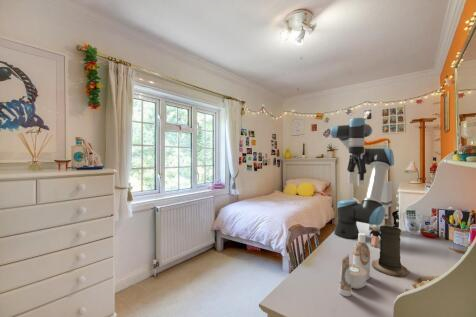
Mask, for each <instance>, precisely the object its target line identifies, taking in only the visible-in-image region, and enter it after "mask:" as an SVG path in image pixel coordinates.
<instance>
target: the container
mask: <svg viewBox="0 0 476 317" xmlns="http://www.w3.org/2000/svg"><path fill="white" fill-rule="evenodd" d="M380 231H381V235H380V236H379V238H380V239H379V240H380V241H379V249H380V250H379V257H378V260H379V262H378V263H379V265H380V266H381V267H383V268H385V269H388V270H393V271H399V270H401V269H402V267H401V265H402V262H401V232H402V229H401V228H399V227H397V226H392V225H385V226H380Z"/></svg>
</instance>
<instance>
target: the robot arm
mask: <svg viewBox="0 0 476 317" xmlns="http://www.w3.org/2000/svg"><path fill="white" fill-rule="evenodd" d="M329 133H330V136H331V138H333V139H339V141H340V142H341V143H342V144H343V146H344V147H345V148H346V149H347V150H348V154H350V155H349V159H348V164H347V169H346V170H347V171H348V184H355V169H356V167H357V187H365V174H366V173H367V168H366V165H368V166H369V167H370V168H371V170H370V173H369V180H368V183H367V189H366V192H365V193H366V194H365V198H364V199H362V200H361V203H359V202H358V201H357V200H356V199H342V200H339V201H338V202H337V210H336V211H337V213H336V214H337V216H336V217H337V218H336V219H337V220H336V225H335V227H334V229H333V230H334V231H333V232H334V235H335V236H338V237H339V238H344V239H350V240H351V239H352V240H353V239H358V233H360V232H359V228H358V225H357V222H358V223H363V224H368V225H369V224H371V225H380V224H381V223H382V221H383V219H384V216H385V208H384V207H382V206H383V205H382V203H381V202H380V201H381V196H382V191H383V186H384V182H386V181H385V180H386V175H387V171H389V170H390V168H391V167H392V166H394V165H395V155H394V151H393V150H392V149H391V148H390V147H389V148H386V147H384V148H378V147H377V148H366V147H364V146H365V143H366V140H365V138H368V137H370V136H371V134H372V133H373V127H372V126H371V125H369V124H367V123H366V120H365V118H363V117H353V118H351V119H349V124H344V125H342V124H341V125H335V126H331V128H330V132H329Z"/></svg>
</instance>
